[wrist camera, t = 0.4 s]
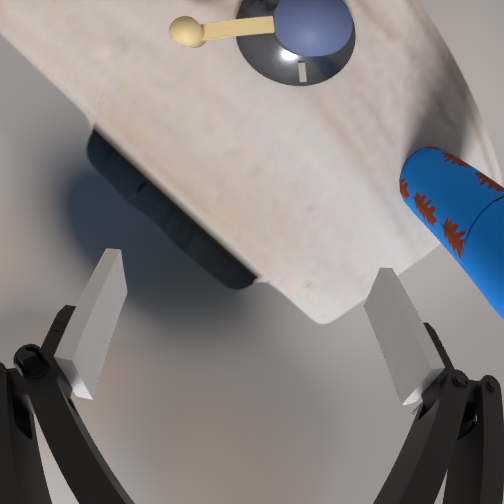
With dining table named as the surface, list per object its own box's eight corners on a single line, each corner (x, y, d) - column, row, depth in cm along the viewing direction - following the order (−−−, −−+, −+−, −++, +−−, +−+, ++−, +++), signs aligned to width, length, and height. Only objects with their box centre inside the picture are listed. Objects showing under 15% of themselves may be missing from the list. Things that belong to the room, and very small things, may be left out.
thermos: (459, 147, 38) (579, 232, 17) (449, 209, 44) (544, 312, 23) (401, 145, 38) (526, 240, 17) (394, 213, 44) (484, 334, 23)
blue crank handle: (334, -4, 23) (358, -18, 17) (341, 56, 27) (366, 56, 21) (179, 9, 24) (163, -4, 18) (188, 70, 27) (175, 71, 22)
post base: (228, -14, 26) (226, -28, 21) (344, -17, 26) (361, -28, 21) (243, 90, 34) (243, 94, 29) (355, 83, 34) (373, 88, 29)
